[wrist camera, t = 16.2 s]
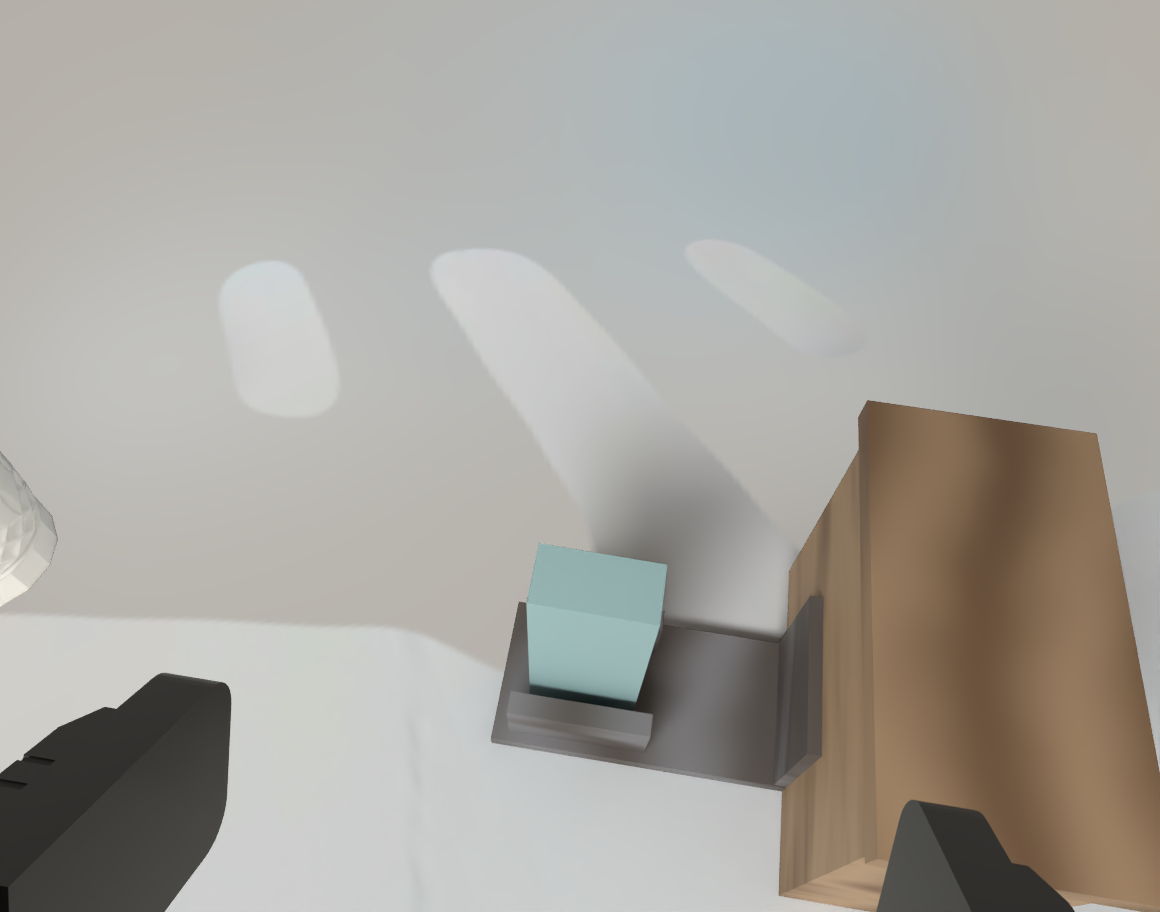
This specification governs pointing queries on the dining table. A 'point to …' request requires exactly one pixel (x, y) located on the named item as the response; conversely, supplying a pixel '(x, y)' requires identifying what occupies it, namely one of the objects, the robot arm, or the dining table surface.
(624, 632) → the tall teal block
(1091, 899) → the hinge cabinet
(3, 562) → the white cup
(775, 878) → the dining table surface
